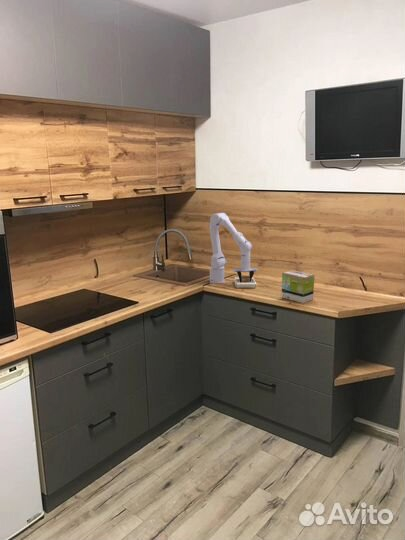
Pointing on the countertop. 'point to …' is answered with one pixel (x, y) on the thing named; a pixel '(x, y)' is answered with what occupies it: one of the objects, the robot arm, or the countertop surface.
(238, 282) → the white tray
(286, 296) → the tea box
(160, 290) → the countertop surface
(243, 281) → the walnut block
